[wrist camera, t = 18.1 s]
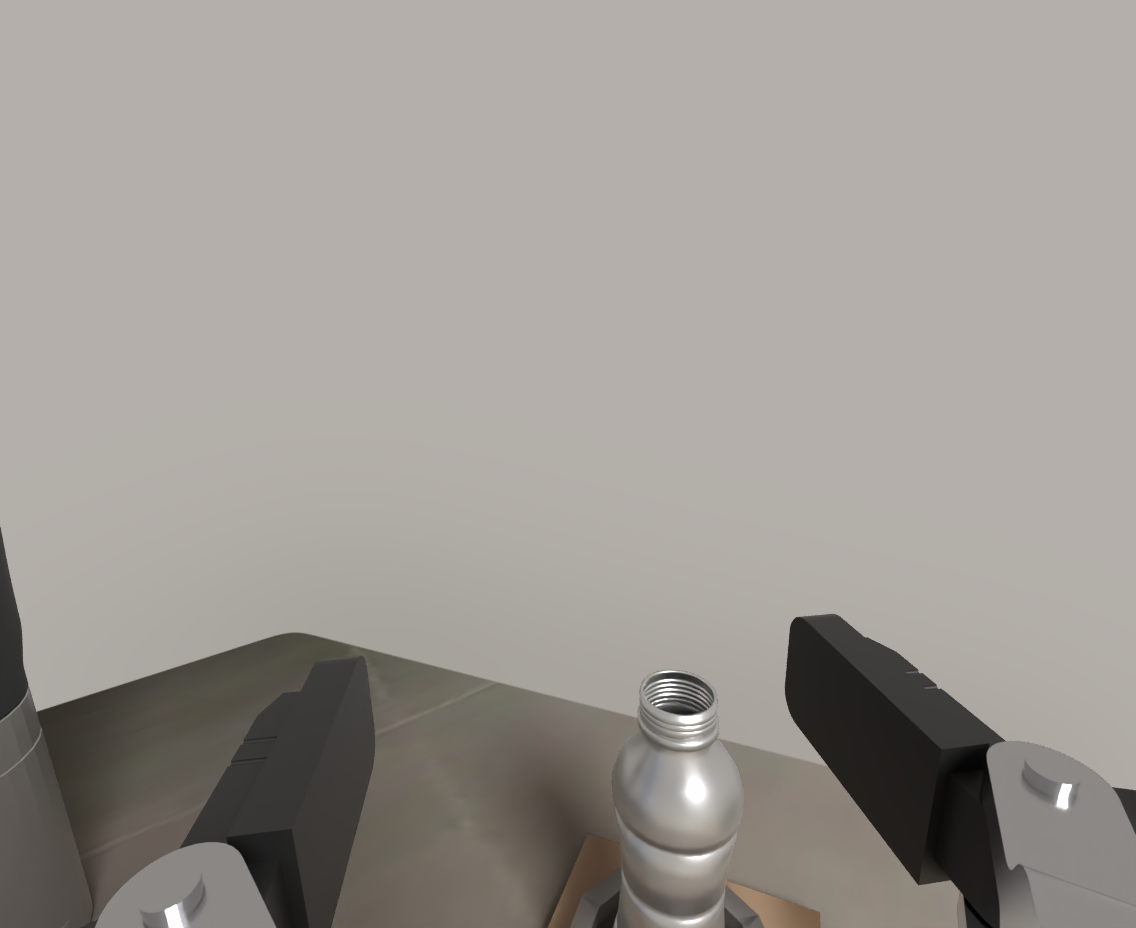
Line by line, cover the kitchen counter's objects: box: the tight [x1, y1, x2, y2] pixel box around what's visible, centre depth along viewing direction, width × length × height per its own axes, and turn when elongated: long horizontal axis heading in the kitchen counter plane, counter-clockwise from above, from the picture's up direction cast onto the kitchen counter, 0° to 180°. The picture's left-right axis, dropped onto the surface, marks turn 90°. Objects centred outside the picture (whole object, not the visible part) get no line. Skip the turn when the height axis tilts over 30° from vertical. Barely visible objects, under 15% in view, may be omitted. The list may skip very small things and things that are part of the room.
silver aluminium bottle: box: [612, 670, 744, 928], centre depth 30 cm, size 6×7×20 cm
